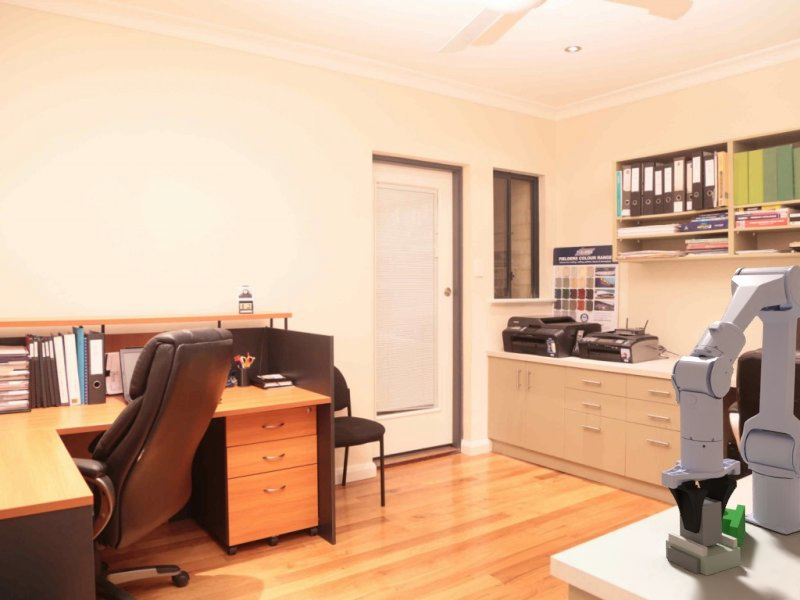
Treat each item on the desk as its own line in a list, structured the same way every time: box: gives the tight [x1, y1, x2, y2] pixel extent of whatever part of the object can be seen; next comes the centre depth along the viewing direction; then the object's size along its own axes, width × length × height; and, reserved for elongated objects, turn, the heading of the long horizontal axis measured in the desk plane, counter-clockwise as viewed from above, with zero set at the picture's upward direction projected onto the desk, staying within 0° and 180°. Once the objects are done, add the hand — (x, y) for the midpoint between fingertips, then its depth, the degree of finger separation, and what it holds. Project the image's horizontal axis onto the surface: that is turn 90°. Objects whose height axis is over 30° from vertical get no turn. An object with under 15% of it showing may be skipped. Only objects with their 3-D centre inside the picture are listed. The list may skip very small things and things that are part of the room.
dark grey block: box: [679, 497, 722, 547], centre depth 92 cm, size 4×5×6 cm
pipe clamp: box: [722, 504, 746, 549], centre depth 98 cm, size 11×4×5 cm, turn 145°
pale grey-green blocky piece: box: [665, 532, 742, 577], centre depth 91 cm, size 8×7×4 cm
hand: (702, 528), depth 91 cm, fingers closed on dark grey block, 4 cm apart
